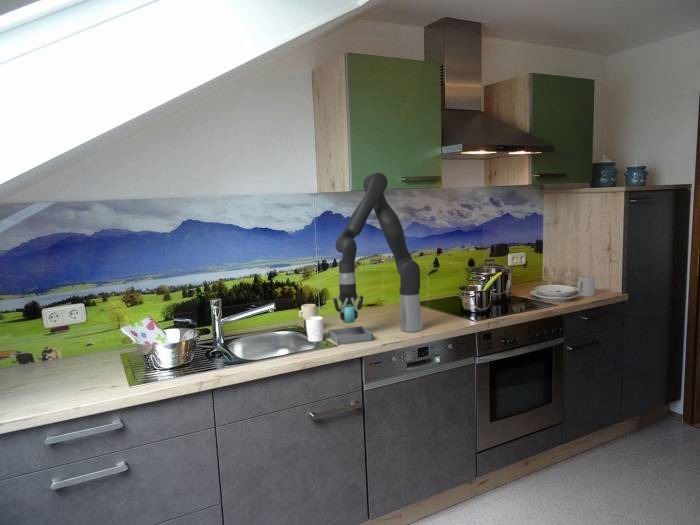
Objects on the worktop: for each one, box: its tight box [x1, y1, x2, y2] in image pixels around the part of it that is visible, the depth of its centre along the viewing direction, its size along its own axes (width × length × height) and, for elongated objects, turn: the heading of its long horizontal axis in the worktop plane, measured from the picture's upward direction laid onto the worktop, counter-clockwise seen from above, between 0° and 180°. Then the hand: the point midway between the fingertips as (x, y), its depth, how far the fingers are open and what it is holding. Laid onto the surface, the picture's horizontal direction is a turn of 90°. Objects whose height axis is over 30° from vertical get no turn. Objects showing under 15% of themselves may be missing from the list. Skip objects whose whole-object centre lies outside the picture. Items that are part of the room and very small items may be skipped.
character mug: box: [298, 303, 320, 333], centre depth 243 cm, size 11×7×13 cm, turn 127°
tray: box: [328, 325, 374, 346], centre depth 228 cm, size 16×16×3 cm
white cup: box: [306, 315, 324, 343], centre depth 228 cm, size 8×8×10 cm
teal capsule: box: [342, 305, 356, 324], centre depth 227 cm, size 5×5×7 cm
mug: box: [577, 275, 596, 297], centre depth 296 cm, size 12×8×11 cm
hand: (349, 319), depth 227 cm, fingers closed on teal capsule, 5 cm apart
